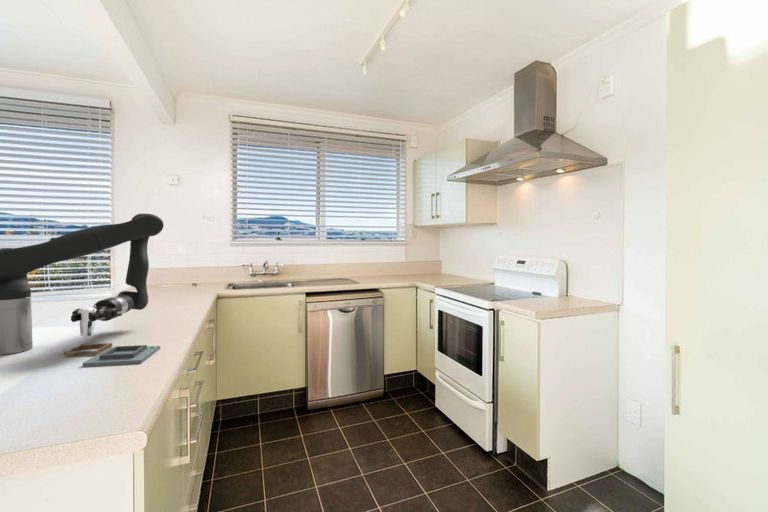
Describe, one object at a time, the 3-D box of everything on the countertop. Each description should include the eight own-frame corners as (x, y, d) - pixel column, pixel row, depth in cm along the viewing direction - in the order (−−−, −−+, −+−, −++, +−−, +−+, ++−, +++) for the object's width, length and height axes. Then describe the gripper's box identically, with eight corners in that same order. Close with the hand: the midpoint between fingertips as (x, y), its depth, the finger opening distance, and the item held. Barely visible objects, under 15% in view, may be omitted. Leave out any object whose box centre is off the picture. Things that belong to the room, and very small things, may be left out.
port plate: (82, 366, 101) (82, 359, 101) (108, 351, 115) (108, 344, 115) (141, 363, 104) (141, 355, 104) (160, 348, 118) (160, 342, 118)
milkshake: (87, 337, 111) (88, 306, 111) (73, 335, 112) (74, 305, 112) (101, 334, 116) (102, 304, 115) (88, 332, 117) (89, 302, 116)
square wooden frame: (63, 356, 109) (63, 352, 109) (81, 347, 118) (81, 344, 118) (97, 355, 111) (97, 351, 111) (112, 346, 120) (112, 342, 120)
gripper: (88, 298, 126) (55, 307, 109) (133, 297, 129) (108, 306, 112) (88, 318, 126) (55, 331, 109) (133, 317, 129) (108, 329, 113)
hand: (82, 318), depth 111 cm, fingers closed on milkshake, 4 cm apart
